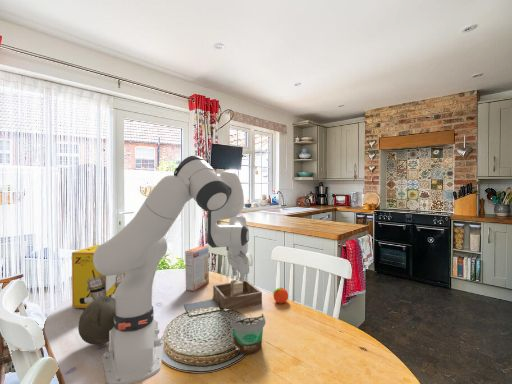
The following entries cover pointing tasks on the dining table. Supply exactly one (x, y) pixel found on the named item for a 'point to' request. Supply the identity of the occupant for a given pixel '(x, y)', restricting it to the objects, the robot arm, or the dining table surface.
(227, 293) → the box frame
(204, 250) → the cracker box
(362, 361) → the dining table surface
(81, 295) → the packaging box
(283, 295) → the tomato
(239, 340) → the food container
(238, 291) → the beech block
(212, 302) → the slate mat
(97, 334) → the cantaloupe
